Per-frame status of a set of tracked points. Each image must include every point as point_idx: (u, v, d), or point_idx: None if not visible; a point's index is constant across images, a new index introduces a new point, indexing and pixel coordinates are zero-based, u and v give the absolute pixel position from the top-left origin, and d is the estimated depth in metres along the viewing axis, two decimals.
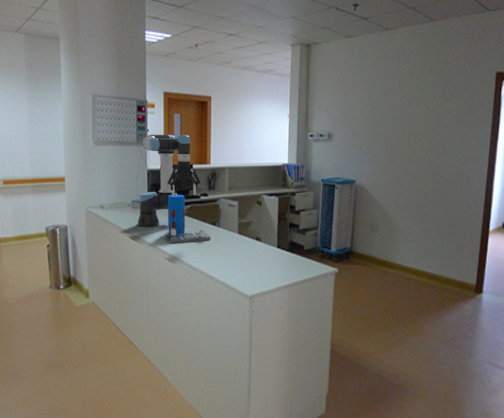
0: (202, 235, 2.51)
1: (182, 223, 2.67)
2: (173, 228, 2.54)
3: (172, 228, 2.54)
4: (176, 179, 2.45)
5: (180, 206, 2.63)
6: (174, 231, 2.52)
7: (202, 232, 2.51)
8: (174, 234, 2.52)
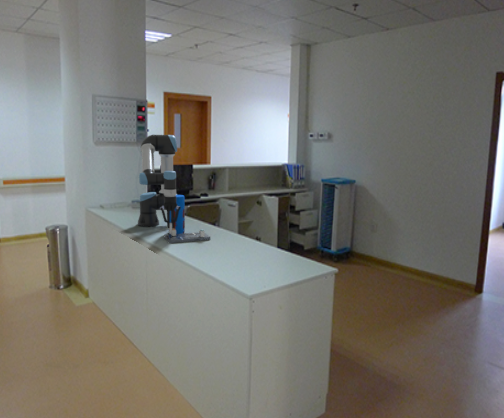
0: (202, 235, 2.51)
1: (182, 223, 2.67)
2: (173, 228, 2.54)
3: (172, 228, 2.54)
4: (169, 216, 2.49)
5: (180, 206, 2.63)
6: (174, 231, 2.52)
7: (202, 232, 2.51)
8: (174, 234, 2.52)
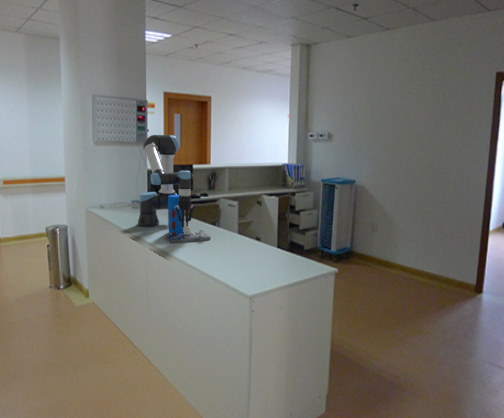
0: (202, 235, 2.51)
1: None
2: (187, 227, 2.57)
3: None
4: (183, 215, 2.53)
5: None
6: (188, 230, 2.56)
7: (202, 232, 2.51)
8: (188, 233, 2.56)
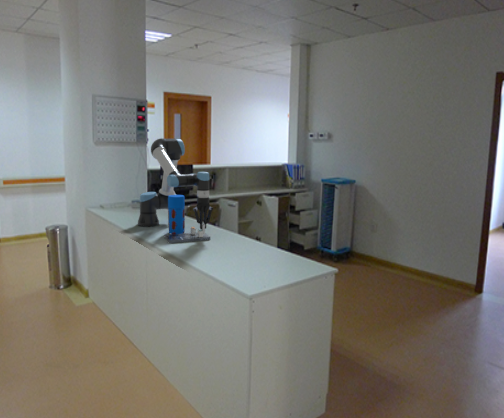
0: (200, 235, 2.51)
1: (182, 223, 2.67)
2: (193, 227, 2.59)
3: (192, 227, 2.59)
4: (202, 217, 2.50)
5: (180, 206, 2.63)
6: (194, 229, 2.57)
7: (200, 232, 2.50)
8: (194, 232, 2.58)
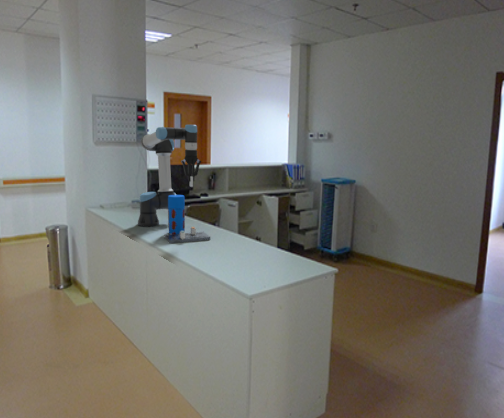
0: (183, 237, 2.46)
1: (182, 223, 2.67)
2: (193, 227, 2.59)
3: (192, 227, 2.59)
4: (190, 169, 2.55)
5: (180, 206, 2.63)
6: (194, 229, 2.57)
7: (183, 234, 2.46)
8: (194, 232, 2.58)
